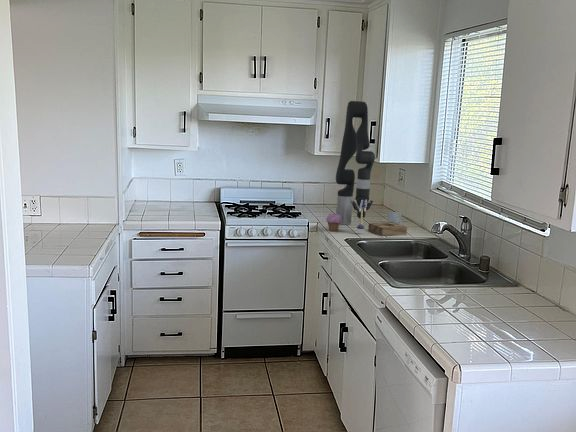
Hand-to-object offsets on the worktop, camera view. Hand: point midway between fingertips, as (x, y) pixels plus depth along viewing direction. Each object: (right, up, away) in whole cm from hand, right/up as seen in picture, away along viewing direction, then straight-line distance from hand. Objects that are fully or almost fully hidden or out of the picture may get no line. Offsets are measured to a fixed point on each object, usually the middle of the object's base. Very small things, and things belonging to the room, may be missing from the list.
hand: (360, 217), depth 328 cm
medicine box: (+23, -6, +27) cm, 36 cm away
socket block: (+16, -9, +9) cm, 20 cm away
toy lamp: (0, -6, +1) cm, 6 cm away
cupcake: (-15, -8, +9) cm, 19 cm away
